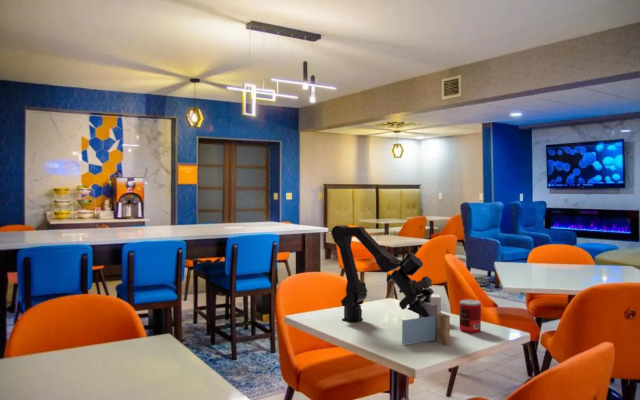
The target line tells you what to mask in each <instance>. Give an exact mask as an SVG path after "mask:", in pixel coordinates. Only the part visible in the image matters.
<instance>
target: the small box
mask: <svg viewBox="0 0 640 400" xmlns="http://www.w3.org/2000/svg"><path fill="white" fill-rule="evenodd" d="M430 301H431V303H434V304H437V313H442V297H441V296H440V294H434V293H433V294H432V295H431V298H430Z"/></svg>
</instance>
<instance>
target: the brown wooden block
mask: <svg viewBox="0 0 640 400" xmlns="http://www.w3.org/2000/svg"><path fill="white" fill-rule="evenodd" d="M450 316H451V315H449V314H446V313H443V312H441V313H437V341H436V342H437V343H440V344H443V345H444V346H450V344H451V343H450V337H451V336H450V335H451V332H450V327H451V323H450V322H451V320H450V319H451V317H450Z"/></svg>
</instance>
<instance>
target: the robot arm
mask: <svg viewBox="0 0 640 400" xmlns="http://www.w3.org/2000/svg"><path fill="white" fill-rule="evenodd" d="M330 234H331V236H332V239H333V242H334V243H335V244H336V245H337V248H338V249H339V254H340V257H341V261H342V265H343V269H344V274H345V278H346V287H345V294H346V295H345V296H344V297H343V298H342V299H341V301H340V303H341V306H342V307H343V315H344V316H343V318H341V321H345V322H350V323H357V322H361V321H363V320H364V318H363V317H362V316H363V313H362V312H363V310H362V305H363V303H364V301H365V300H366V298H367V296H368V289H367V286H366V282H365V281H363V282H362V280H360V278H359V275H358V271H357V266H356V262H355V258H354V254H353V250H352V246H351V245H352V239H353V237H355V238H356V239H357V240H358V241H359V243H360V244H362V246H363V247H364V248H365V249H366V250H367V251H368V252H369V253H370V254H371V255H372V256H373V258H374V260H375V263H376V265H377V266H378V268H379V269H380V270H381V271H382V272H383V273H389V272H391V273H389V274H387V275H386V282H387V283H389V282H393V283H394V284H395V285H396V286H397V288H398V289H399V290H398V292H399V293H400V294H403V295H404V296H405V297H403V298H402V299H401V300H400V301H399V302H398V303H399V305H398V306H399V308H400V309H401V310H406V309H407V311H411V312H413V313H414V314H415V313H416V314H417V315H418V316H419V315H421V316H423V317H429V315H428V313H427V312H426V310H425V309H424V307H423V306H422V304H421V303H424V302H427V303H431V301H430V298H431V295H432V294H434V293H435V291H434V290H433V289H432V286H433V284H432V282H433V280H432V279H431V278H430V277H429V276H427V275H426V276H423V277H421V280H418V281H417V280H415V279H413V280H412V279H411V277H410V276H412V277H413V276H414V275H415V274H416V273H418V271H419V270H420V269H421V268H422V267H423V265H424V263H423V261H422V259H421V258H419V257H418V256H416V255H414V254H413V253H412V252H410V253H407V255H406V256H405V257H404V258H403V259H402V260H401V259H398V258H397V257H396V256H395V255H394V254H393V253H391V252H389V251H387V250H385V249H384V248H383V247H381V245H380V244H379V243H378V242H377V241H376V240H375V239H374V238H373V237H372V236H371V235H370V234H369V232H368V231H366V229H365V227H363V226H353V227H352V226H349V225H346V224H343V225H342V224H341V225H340V224H339V225H334V226H333V227H332V228H331V233H330ZM407 306H408V307H407Z"/></svg>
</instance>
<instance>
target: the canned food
mask: <svg viewBox="0 0 640 400" xmlns="http://www.w3.org/2000/svg"><path fill="white" fill-rule="evenodd" d="M481 303H482V302H481V301H479V300H477V299H462V300H459V330H460V332H463V333H466V334H478V333H480V332H481V329H482V328H481V326H482V325H481V323H482V322H481V321H482V318H481V317H482V305H481Z"/></svg>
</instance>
